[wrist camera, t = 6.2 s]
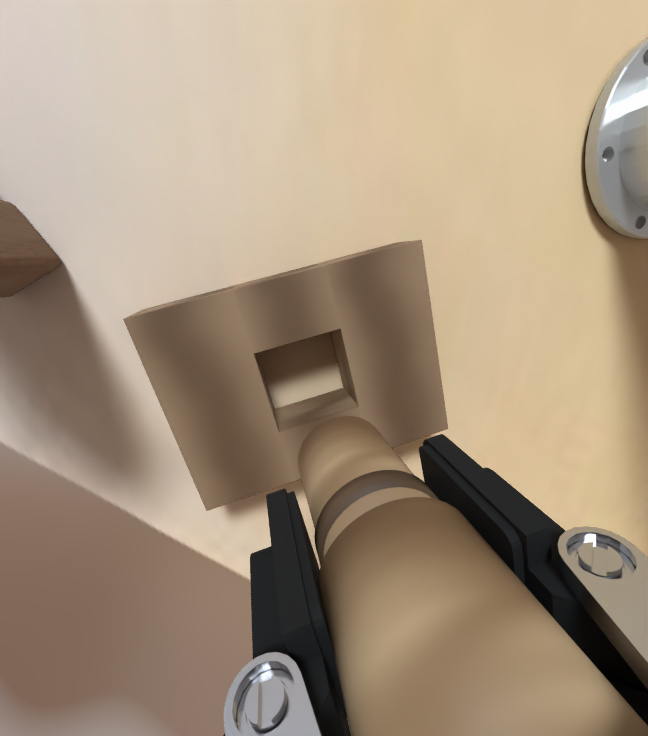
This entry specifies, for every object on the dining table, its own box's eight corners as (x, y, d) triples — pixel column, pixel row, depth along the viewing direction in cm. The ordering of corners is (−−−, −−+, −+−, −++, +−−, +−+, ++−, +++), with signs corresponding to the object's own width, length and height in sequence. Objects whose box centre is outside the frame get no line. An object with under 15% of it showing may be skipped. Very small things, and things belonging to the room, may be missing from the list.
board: (396, 242, 23) (421, 239, 20) (423, 408, 27) (448, 428, 24) (142, 310, 21) (123, 319, 18) (211, 477, 25) (206, 510, 22)
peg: (381, 393, 12) (804, 792, 3) (399, 482, 14) (743, 961, 4) (275, 428, 12) (400, 1028, 3) (304, 516, 13) (458, 1140, 4)
